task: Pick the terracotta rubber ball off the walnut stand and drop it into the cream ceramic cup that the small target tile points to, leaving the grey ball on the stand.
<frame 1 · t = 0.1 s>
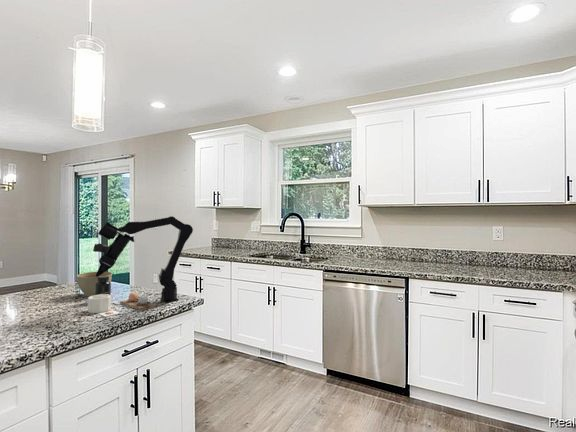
hand: (97, 274, 150), 15 cm above the counter, tool tilted 30°, fingers open, 9 cm apart
cup: (99, 310, 145), on the counter
target tile: (109, 314, 140), on the counter
stand: (138, 304, 154), on the counter
planter bowl: (94, 295, 173), on the counter
supplement bottle: (102, 301, 161), on the counter
ball grey: (143, 300, 152), point 3 cm above the counter, touching stand
ball terracotta: (133, 297, 157), point 3 cm above the counter, touching stand
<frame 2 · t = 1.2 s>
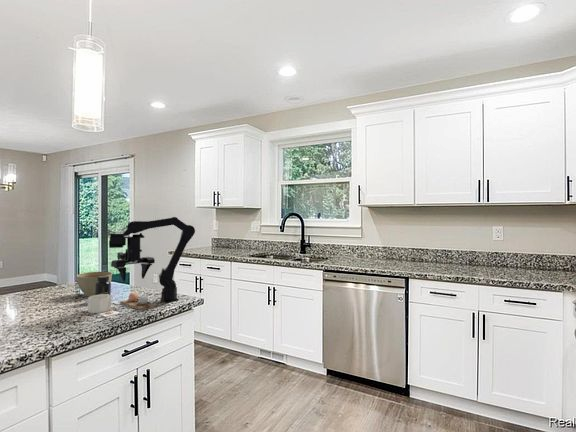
hand: (133, 279, 157), 11 cm above the counter, tool pointing down, fingers open, 9 cm apart
nothing on the counter moved.
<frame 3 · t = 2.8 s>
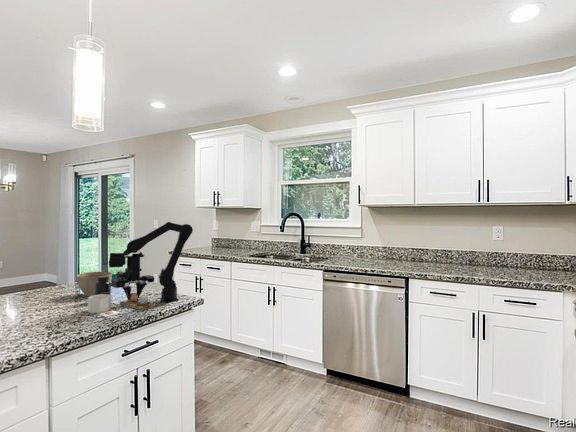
hand: (133, 299, 157), 2 cm above the counter, tool pointing down, fingers closed on ball terracotta, 4 cm apart
ball terracotta: (133, 297, 157), point 3 cm above the counter, touching gripper, stand
everything else where it was.
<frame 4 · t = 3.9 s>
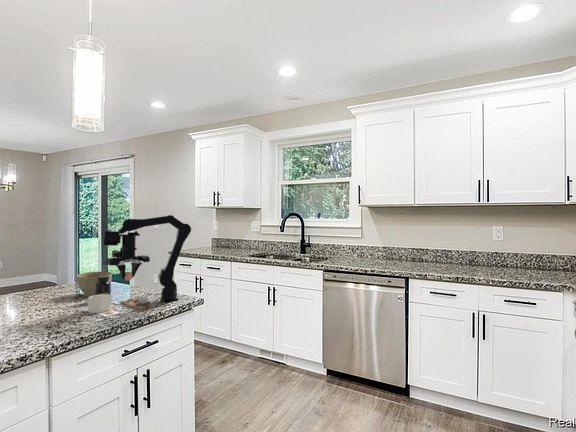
hand: (127, 278, 155), 12 cm above the counter, tool pointing down, fingers closed on ball terracotta, 4 cm apart
ball terracotta: (128, 276, 155), point 13 cm above the counter, touching gripper
everything else where it was.
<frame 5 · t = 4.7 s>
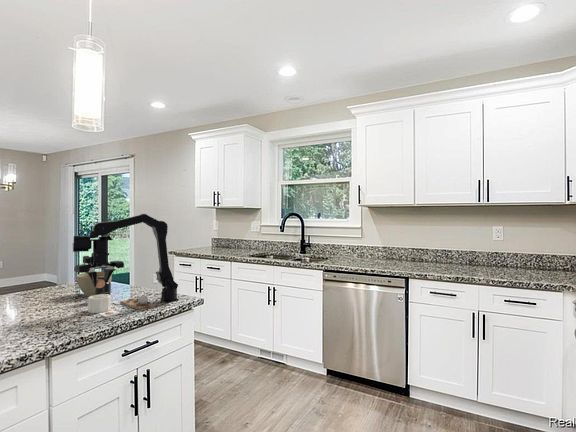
hand: (100, 285, 145), 11 cm above the counter, tool pointing down, fingers closed on ball terracotta, 4 cm apart
ball terracotta: (100, 283, 145), point 12 cm above the counter, touching gripper
everything else where it was.
when the fingers open (8 cm above the counter, at t = 5.3 s): ball terracotta drops 6 cm, resting on cup.
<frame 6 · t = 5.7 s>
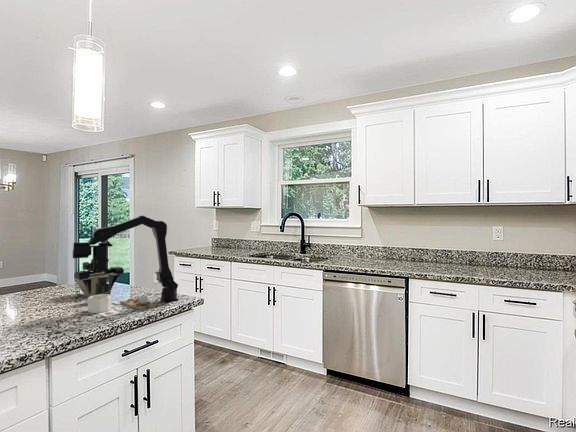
hand: (99, 292, 145), 8 cm above the counter, tool pointing down, fingers open, 8 cm apart
ball terracotta: (99, 304, 145), point 3 cm above the counter, touching cup
everything else where it was.
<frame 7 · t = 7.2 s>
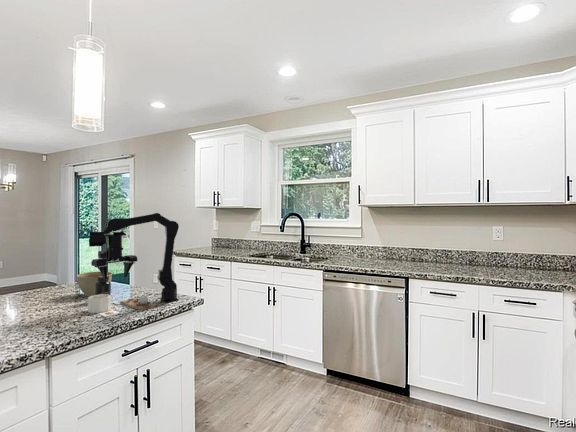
hand: (115, 279, 153), 12 cm above the counter, tool pointing down, fingers open, 9 cm apart
nothing on the counter moved.
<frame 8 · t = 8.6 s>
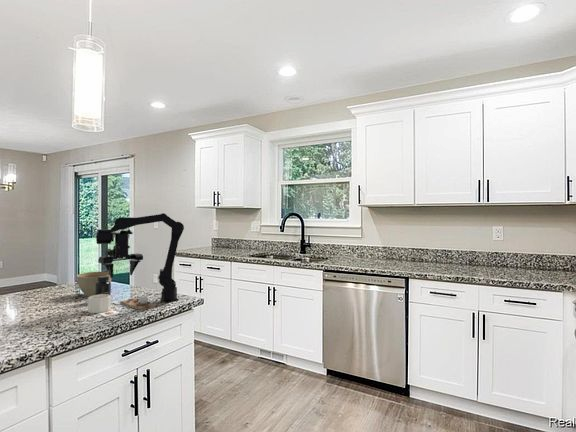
hand: (121, 276, 156), 13 cm above the counter, tool pointing down, fingers open, 9 cm apart
nothing on the counter moved.
at the end: ball terracotta 0.1 cm off-centre on the cup, point 2.6 cm above the cup's base; ball grey moved 0.1 cm from its start; the gripper is holding nothing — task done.
